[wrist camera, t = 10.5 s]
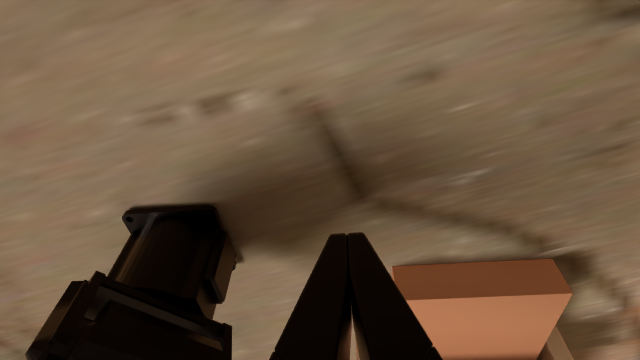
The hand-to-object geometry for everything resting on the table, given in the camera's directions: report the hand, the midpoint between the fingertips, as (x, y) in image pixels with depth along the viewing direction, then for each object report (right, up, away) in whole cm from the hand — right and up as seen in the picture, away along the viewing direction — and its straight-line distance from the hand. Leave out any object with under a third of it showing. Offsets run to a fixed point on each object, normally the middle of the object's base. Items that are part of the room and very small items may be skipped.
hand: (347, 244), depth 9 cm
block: (+12, -11, +25) cm, 30 cm away
